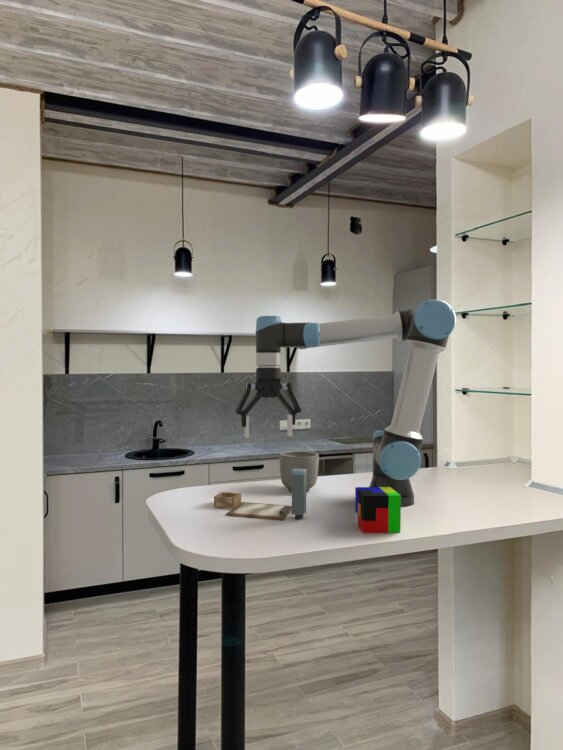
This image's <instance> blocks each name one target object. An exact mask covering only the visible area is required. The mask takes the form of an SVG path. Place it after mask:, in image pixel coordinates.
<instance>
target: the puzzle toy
mask: <svg viewBox="0 0 563 750" xmlns="http://www.w3.org/2000/svg"><path fill="white" fill-rule="evenodd" d="M354 496H355V497H354V499H355V500H354V509H355V511H354V523H355V524H356V526H357V527H358V528H359V529H360V531H361V532H362V533H363V534H391V533H392V534H393V533H394V534H396V533H399V534H401V523H402V522H401V515H402V512H401V511H402V510H401V509H402V506H401V495H400V494H399V493H397V492H396V491H395V490H393V489H392V488H391V487H369V486H358V487H357V486H356V487H355V494H354Z"/></svg>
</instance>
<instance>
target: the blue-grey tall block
mask: <svg viewBox="0 0 563 750" xmlns="http://www.w3.org/2000/svg"><path fill="white" fill-rule="evenodd" d="M306 483H307V469H297V468H295V469H293V470H292V492H291V506H292V511H291V515H294V519H295V520H303V519H304V515H305V514H306V513H307V492H306Z"/></svg>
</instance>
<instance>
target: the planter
mask: <svg viewBox="0 0 563 750" xmlns="http://www.w3.org/2000/svg"><path fill="white" fill-rule="evenodd" d="M278 458H279V461H278V462H279V474H280V480H281V484H282V485H283V486H284V487H285V488H287V490H288V491H289V492H290V493H292V470H293V469H295V468H297V469H307V483H306V493H308V492H310V490H311V489H312V488H313V487H314V486H315V485H316V483H317V481H318V475H319V463H320V456H319V453H318V452H315V451H306V450H305V451H304V450H293V451H292V450H291V451H290V450H289V451H283V452H281V453H279V456H278Z"/></svg>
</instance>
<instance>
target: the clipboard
mask: <svg viewBox="0 0 563 750" xmlns="http://www.w3.org/2000/svg"><path fill="white" fill-rule="evenodd" d="M290 513H292V505H288V504H287V505H286V504H272V503H262V502H261V503H259V502H247V501H241V503H240V504H239V505H237V506H236V507H235V508H233V509H229V511H227V512H226V514H225V516H226V515H229V516H228V517H237V516H238V517H239V518H240V517H241V518H251V519H261V520H273V521H274V520H276V521H283V520H284V519H286V517H287V516H288V515H289V514H290Z"/></svg>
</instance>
